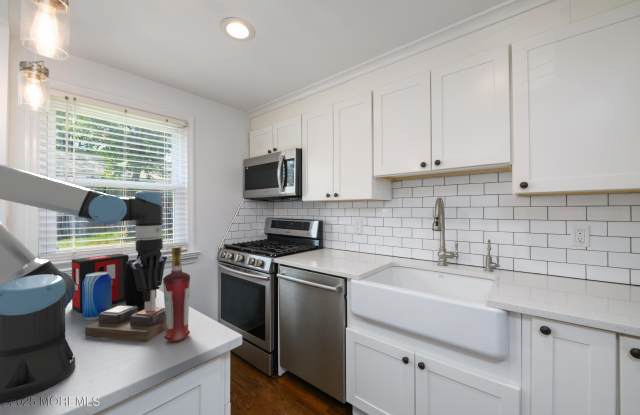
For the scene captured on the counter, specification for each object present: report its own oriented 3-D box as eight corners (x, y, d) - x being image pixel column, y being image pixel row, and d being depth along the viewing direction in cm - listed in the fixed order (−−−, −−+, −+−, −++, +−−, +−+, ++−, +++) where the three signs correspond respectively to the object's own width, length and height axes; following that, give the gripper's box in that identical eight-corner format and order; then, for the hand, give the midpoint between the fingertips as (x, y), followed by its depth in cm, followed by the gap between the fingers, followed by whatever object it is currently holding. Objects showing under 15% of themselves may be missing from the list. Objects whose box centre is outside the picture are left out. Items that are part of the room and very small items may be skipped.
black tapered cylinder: (155, 304, 112) (154, 257, 112) (144, 312, 103) (144, 262, 103) (132, 305, 111) (132, 258, 111) (120, 314, 102) (119, 262, 102)
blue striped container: (101, 320, 96) (100, 276, 96) (76, 321, 95) (75, 277, 95) (117, 311, 104) (116, 270, 104) (94, 312, 104) (94, 271, 104)
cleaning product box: (119, 297, 122) (119, 253, 122) (128, 300, 117) (128, 255, 117) (72, 309, 108) (71, 259, 108) (80, 313, 103) (80, 261, 103)
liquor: (162, 337, 83) (161, 247, 83) (188, 331, 87) (187, 245, 87) (165, 347, 77) (164, 250, 77) (192, 339, 81) (191, 247, 81)
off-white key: (118, 318, 87) (118, 312, 87) (104, 317, 88) (104, 311, 88) (132, 312, 92) (132, 306, 92) (119, 311, 93) (119, 305, 93)
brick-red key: (150, 320, 85) (150, 314, 85) (135, 319, 86) (135, 313, 86) (163, 314, 90) (163, 308, 90) (149, 313, 91) (149, 307, 91)
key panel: (145, 342, 80) (145, 321, 80) (85, 336, 84) (85, 317, 84) (178, 322, 94) (178, 305, 94) (125, 318, 98) (124, 302, 98)
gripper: (142, 241, 81) (143, 318, 81) (173, 236, 94) (174, 303, 94) (121, 240, 82) (122, 317, 82) (154, 236, 95) (155, 302, 95)
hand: (150, 310), depth 88 cm, fingers closed
